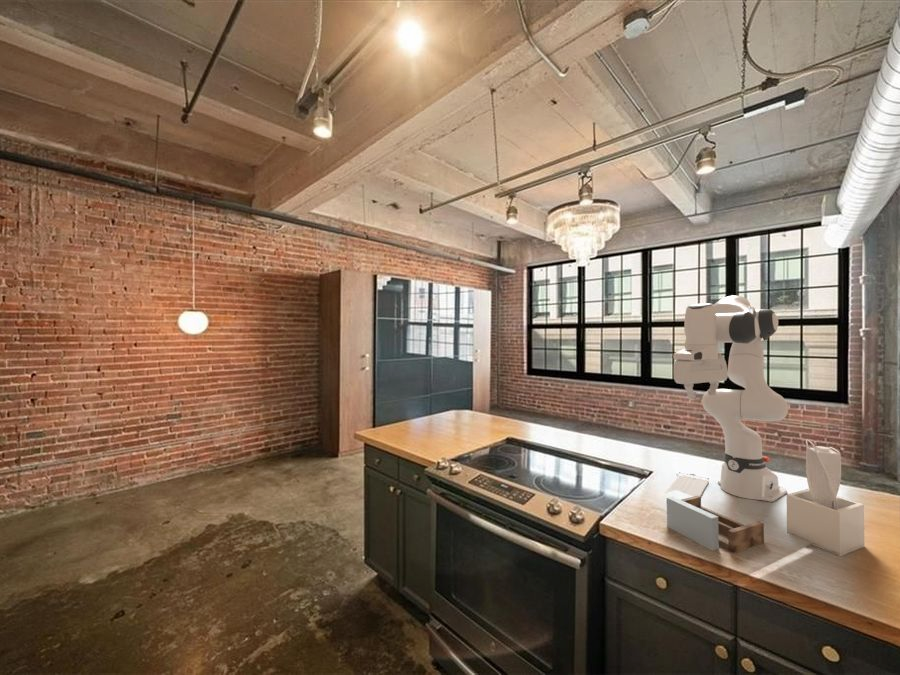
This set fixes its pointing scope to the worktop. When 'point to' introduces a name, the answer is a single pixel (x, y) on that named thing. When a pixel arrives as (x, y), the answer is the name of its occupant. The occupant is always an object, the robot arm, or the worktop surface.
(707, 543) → the pale blue-grey board
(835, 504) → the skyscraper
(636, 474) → the worktop surface
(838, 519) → the open white box
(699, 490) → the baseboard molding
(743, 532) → the rack
